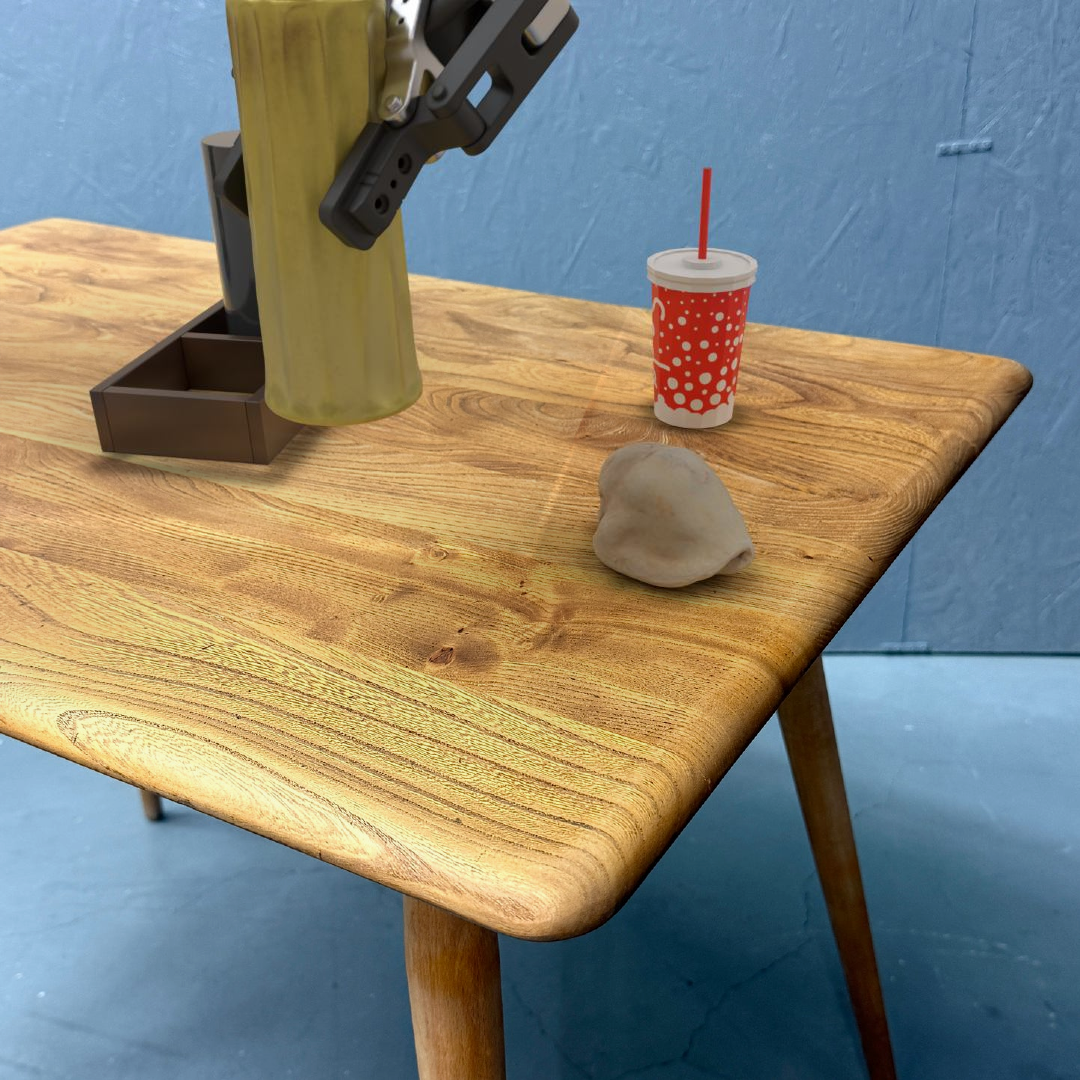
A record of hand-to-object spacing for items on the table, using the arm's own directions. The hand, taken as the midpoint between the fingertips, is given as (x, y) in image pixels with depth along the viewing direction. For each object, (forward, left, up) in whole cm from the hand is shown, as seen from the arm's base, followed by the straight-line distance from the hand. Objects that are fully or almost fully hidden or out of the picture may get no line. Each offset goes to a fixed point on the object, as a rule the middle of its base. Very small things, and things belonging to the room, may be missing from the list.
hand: (287, 220), depth 40 cm
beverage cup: (+13, +25, -17) cm, 33 cm away
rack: (-13, +22, -17) cm, 31 cm away
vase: (+1, +2, -7) cm, 8 cm away
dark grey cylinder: (-13, +26, -16) cm, 34 cm away
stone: (+13, +8, -17) cm, 23 cm away
